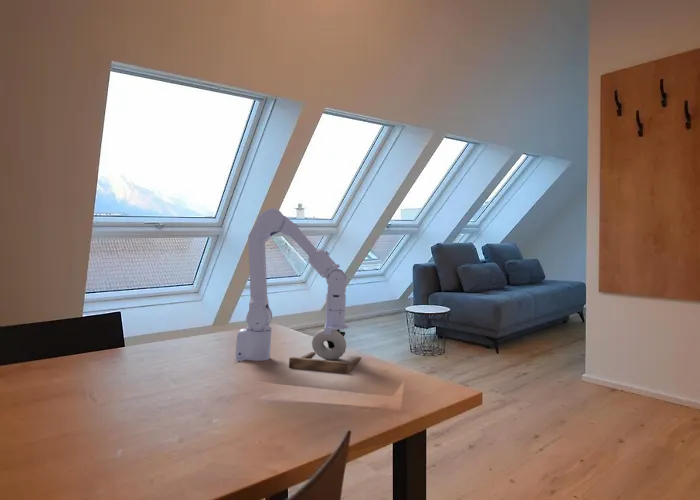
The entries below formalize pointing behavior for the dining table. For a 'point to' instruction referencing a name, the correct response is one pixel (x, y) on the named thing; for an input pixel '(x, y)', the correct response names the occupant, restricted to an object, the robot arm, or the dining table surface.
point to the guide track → (321, 364)
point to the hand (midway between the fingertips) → (333, 356)
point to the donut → (329, 352)
